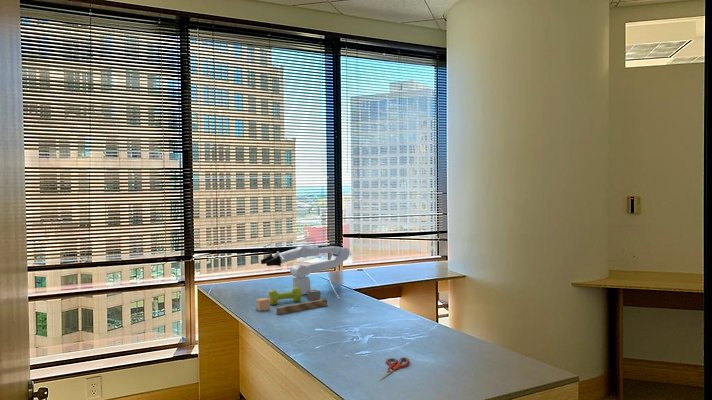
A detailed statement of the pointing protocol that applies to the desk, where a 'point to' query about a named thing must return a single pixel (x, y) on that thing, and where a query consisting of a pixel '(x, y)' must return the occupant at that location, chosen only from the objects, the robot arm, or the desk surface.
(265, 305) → the terracotta block
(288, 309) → the bar
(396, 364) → the scissors
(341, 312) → the desk surface
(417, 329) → the desk surface
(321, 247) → the robot arm
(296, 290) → the dumbbell
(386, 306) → the desk surface
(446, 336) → the desk surface
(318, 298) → the charcoal block
